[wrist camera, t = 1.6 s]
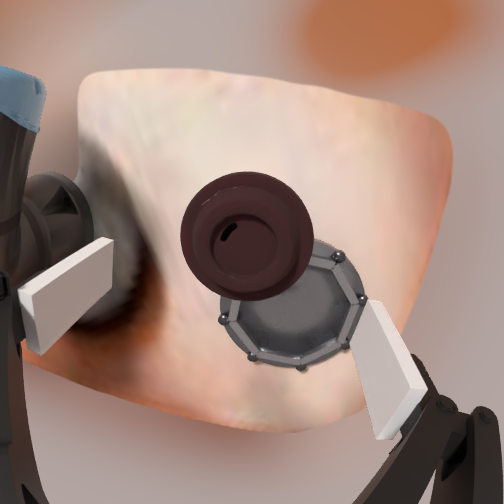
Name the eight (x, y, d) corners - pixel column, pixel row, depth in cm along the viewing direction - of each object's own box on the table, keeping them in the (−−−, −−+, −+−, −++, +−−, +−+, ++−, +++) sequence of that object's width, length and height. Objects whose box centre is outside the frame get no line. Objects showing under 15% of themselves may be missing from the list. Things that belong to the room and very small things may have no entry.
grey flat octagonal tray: (211, 345, 42) (208, 355, 40) (236, 220, 36) (234, 225, 34) (335, 370, 42) (337, 380, 40) (382, 255, 36) (387, 261, 34)
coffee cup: (310, 236, 36) (329, 294, 22) (228, 257, 38) (200, 323, 24) (288, 153, 34) (295, 157, 19) (203, 177, 35) (154, 200, 21)
